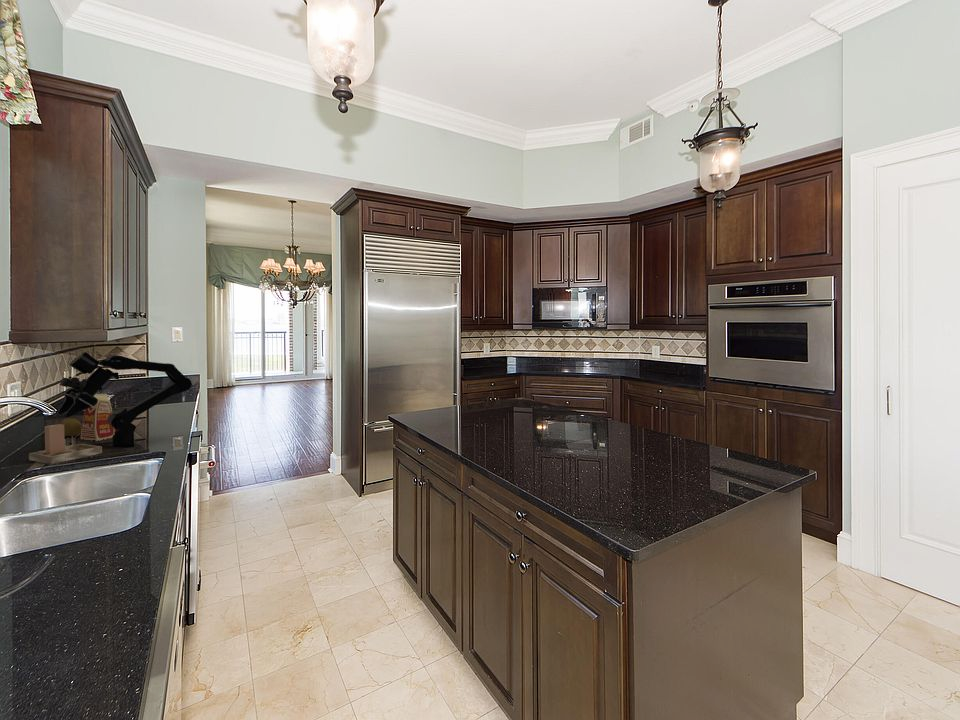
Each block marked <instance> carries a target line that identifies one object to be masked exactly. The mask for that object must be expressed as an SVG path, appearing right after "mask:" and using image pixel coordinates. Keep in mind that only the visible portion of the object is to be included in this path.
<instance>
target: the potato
mask: <svg viewBox="0 0 960 720" xmlns="http://www.w3.org/2000/svg"><path fill="white" fill-rule="evenodd" d="M59 424H63V425H64V437H67V436H74V437H76V436H79V435H81V429H82V423H81V422H80V421H79V420H78V419H76V418H70V417H69V418H65V419H63V420H62V421H60V423H59Z"/></svg>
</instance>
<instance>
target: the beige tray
mask: <svg viewBox="0 0 960 720" xmlns="http://www.w3.org/2000/svg"><path fill="white" fill-rule="evenodd" d="M100 454H103V447H102V446H101V445H93V444H86V443H78V444H71V445H65V451H64V452H59V453H54V454H49V455H45V449H44V450H39V451H35V452H29V453H28V460H29V461H32V462H37V463H42V464H49V465H54V464H58V463H63V462H68V461H73V460H77V459H81V458H82V459H83V458H87V457H90V456H95V455H100Z"/></svg>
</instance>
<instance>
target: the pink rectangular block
mask: <svg viewBox="0 0 960 720" xmlns="http://www.w3.org/2000/svg"><path fill="white" fill-rule="evenodd" d="M65 439H66V436H65V435H64V425H63V424H60V423H58V424H51V425H45V426H44V450H45V455H49V454H54V453H59V452H64V451H65V446H66V444H65V443H66V442H65Z"/></svg>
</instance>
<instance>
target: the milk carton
mask: <svg viewBox="0 0 960 720" xmlns="http://www.w3.org/2000/svg"><path fill="white" fill-rule="evenodd" d="M93 397H95V398H97V400H98V403H97V404H96V405H95V406H92V405H90V406H92V407H90V408H87V409H85V410H84V414H83V419H82V423H81V425H82V429H81V433H80V440H83V439H84V440H85V441H93V440H95V441H96V442H99V441H102V440H103V439H104V440H108V439H113V435H114V432H115V431H116V430H115V429H114V428H113V427H112V426H110V425H109V424H108V421H107V420H108V417H109V415H111V414H113V413H111V412H113V408H112V403H111V400H110V399H109V398H108V393H98V392H97V393H96V394H95V395H94V396H93ZM107 438H108V439H107ZM98 440H99V441H98Z"/></svg>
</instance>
